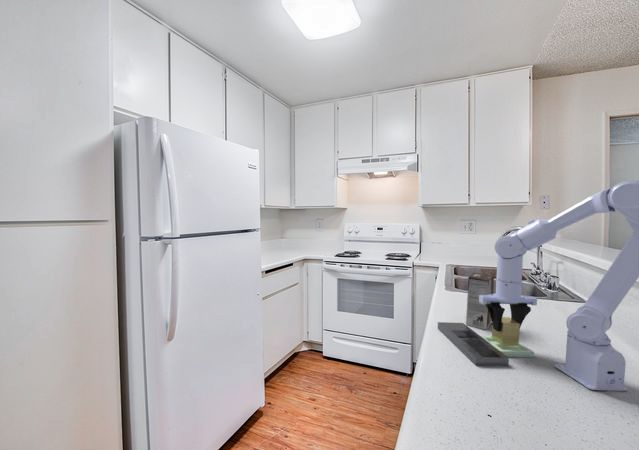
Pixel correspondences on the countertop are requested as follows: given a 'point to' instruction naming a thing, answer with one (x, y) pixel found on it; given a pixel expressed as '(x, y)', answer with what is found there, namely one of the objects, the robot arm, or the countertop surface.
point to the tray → (510, 348)
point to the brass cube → (507, 332)
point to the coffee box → (475, 309)
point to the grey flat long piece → (473, 345)
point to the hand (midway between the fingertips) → (505, 330)
